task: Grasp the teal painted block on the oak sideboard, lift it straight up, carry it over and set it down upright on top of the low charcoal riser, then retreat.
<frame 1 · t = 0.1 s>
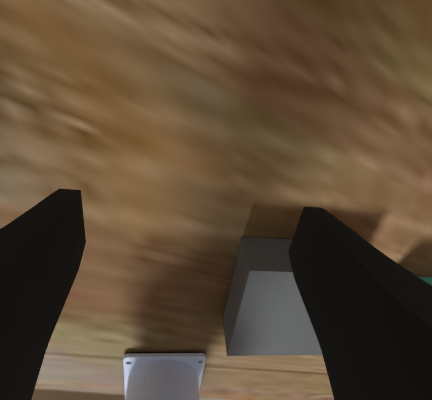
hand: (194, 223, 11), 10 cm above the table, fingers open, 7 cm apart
charcoal riser: (287, 283, 28), on the table
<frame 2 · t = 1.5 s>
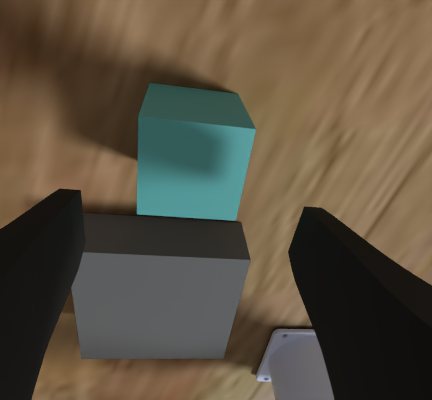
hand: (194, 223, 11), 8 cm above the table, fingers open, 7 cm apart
teal block: (190, 129, 18), on the table
charcoal riser: (161, 273, 23), on the table
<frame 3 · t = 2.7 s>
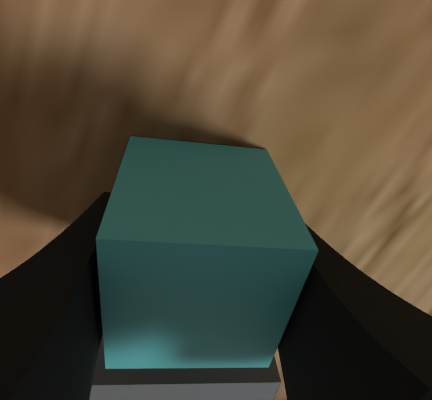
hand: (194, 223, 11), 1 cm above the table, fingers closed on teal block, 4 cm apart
teal block: (193, 199, 12), on the table, touching gripper
charcoal riser: (153, 366, 18), on the table
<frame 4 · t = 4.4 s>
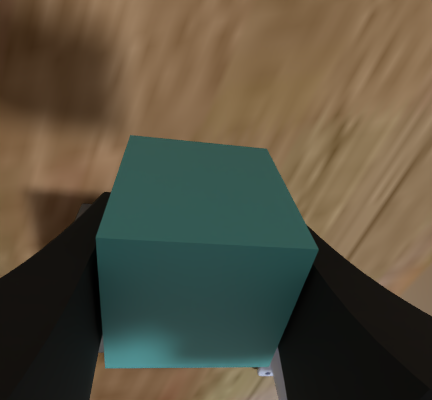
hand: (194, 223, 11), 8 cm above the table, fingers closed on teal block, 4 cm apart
teal block: (193, 199, 12), point 7 cm above the table, touching gripper
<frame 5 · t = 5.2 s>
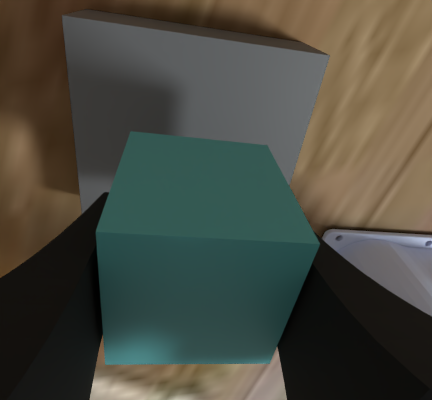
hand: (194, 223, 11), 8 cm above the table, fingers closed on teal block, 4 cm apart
teal block: (193, 195, 12), point 7 cm above the table, touching gripper
charcoal riser: (189, 129, 18), on the table
when the fingers open (6 cm above the table, at t = 6.1 s): teal block stays where it is, resting on charcoal riser.
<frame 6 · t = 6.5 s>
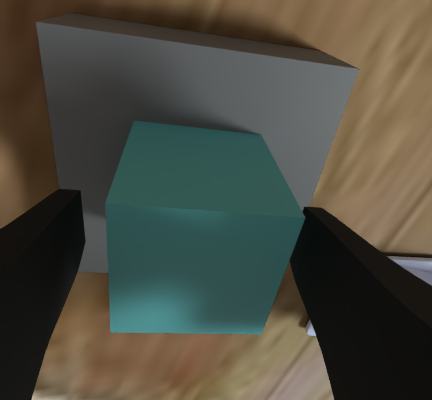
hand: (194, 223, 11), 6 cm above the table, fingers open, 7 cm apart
teal block: (192, 182, 13), point 3 cm above the table, touching charcoal riser
charcoal riser: (190, 148, 15), on the table
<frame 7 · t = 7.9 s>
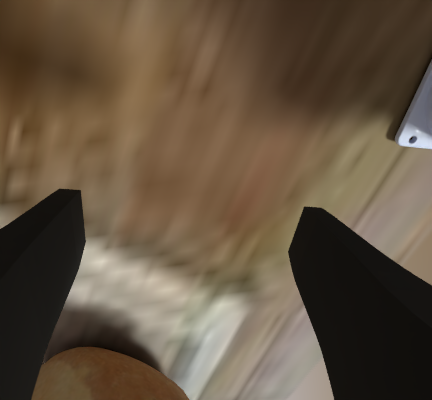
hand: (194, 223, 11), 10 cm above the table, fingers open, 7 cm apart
jug: (149, 387, 36), on the table
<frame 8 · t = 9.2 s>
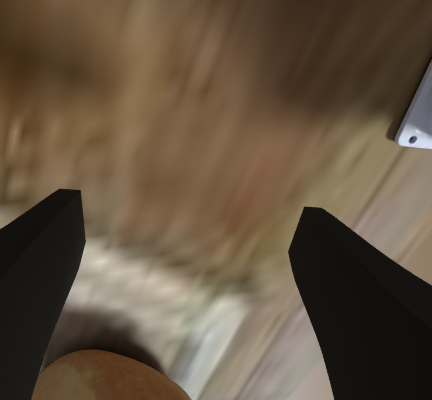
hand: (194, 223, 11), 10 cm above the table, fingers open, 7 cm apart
jug: (152, 389, 36), on the table
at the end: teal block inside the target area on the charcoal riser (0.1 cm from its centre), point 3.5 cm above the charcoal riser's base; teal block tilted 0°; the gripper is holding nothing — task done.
